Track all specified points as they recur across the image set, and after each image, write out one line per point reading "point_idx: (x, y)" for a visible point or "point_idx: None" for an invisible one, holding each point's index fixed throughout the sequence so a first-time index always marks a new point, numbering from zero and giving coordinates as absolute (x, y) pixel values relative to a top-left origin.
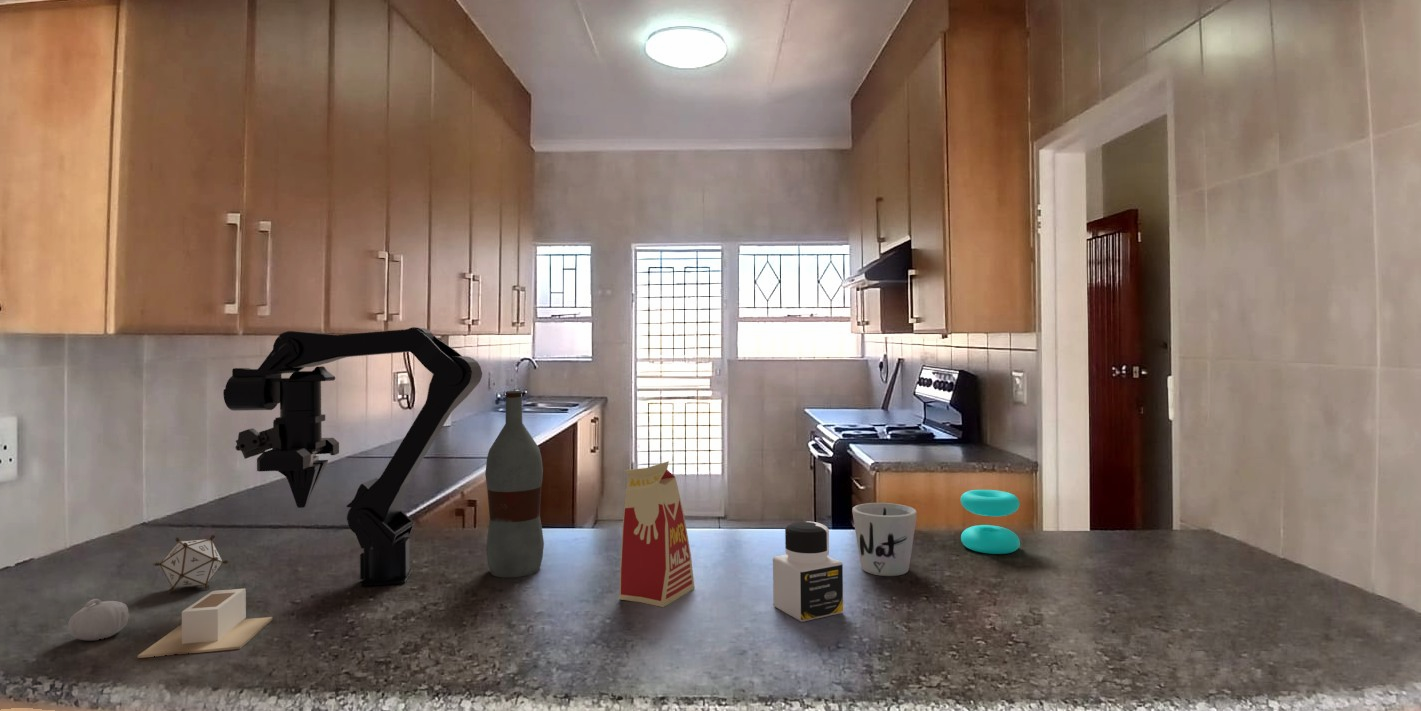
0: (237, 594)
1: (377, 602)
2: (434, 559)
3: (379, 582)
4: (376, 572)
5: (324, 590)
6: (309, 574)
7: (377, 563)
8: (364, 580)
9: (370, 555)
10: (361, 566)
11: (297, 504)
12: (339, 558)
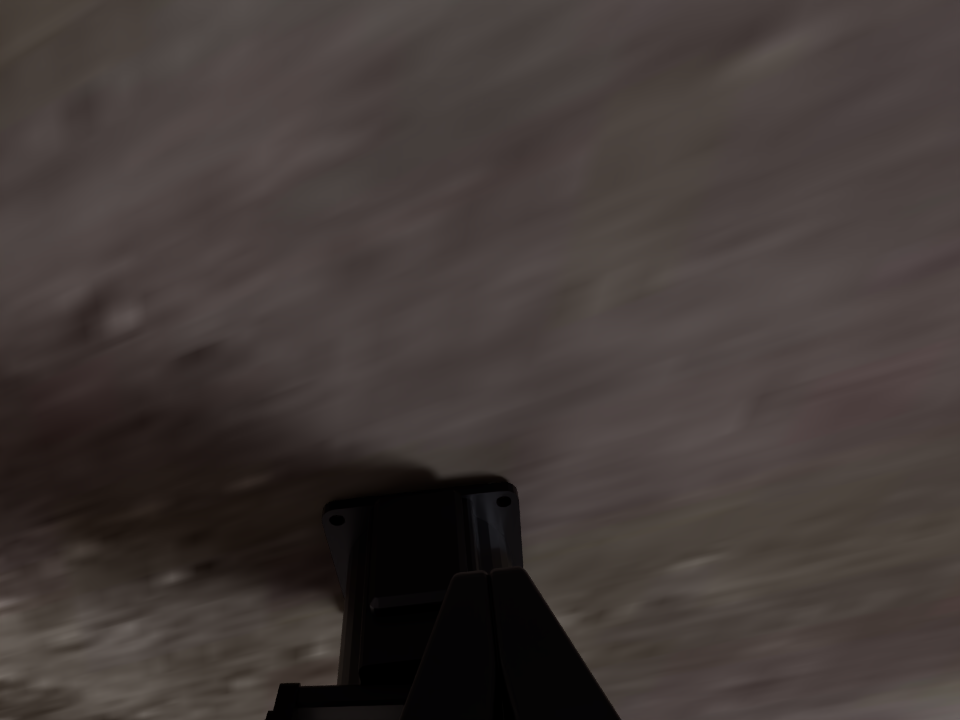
0: None
1: (134, 604)
2: (694, 615)
3: (336, 567)
4: (346, 590)
5: (288, 373)
6: (611, 173)
7: (342, 631)
8: (370, 511)
9: (355, 639)
10: (371, 553)
11: (441, 614)
12: (929, 214)
